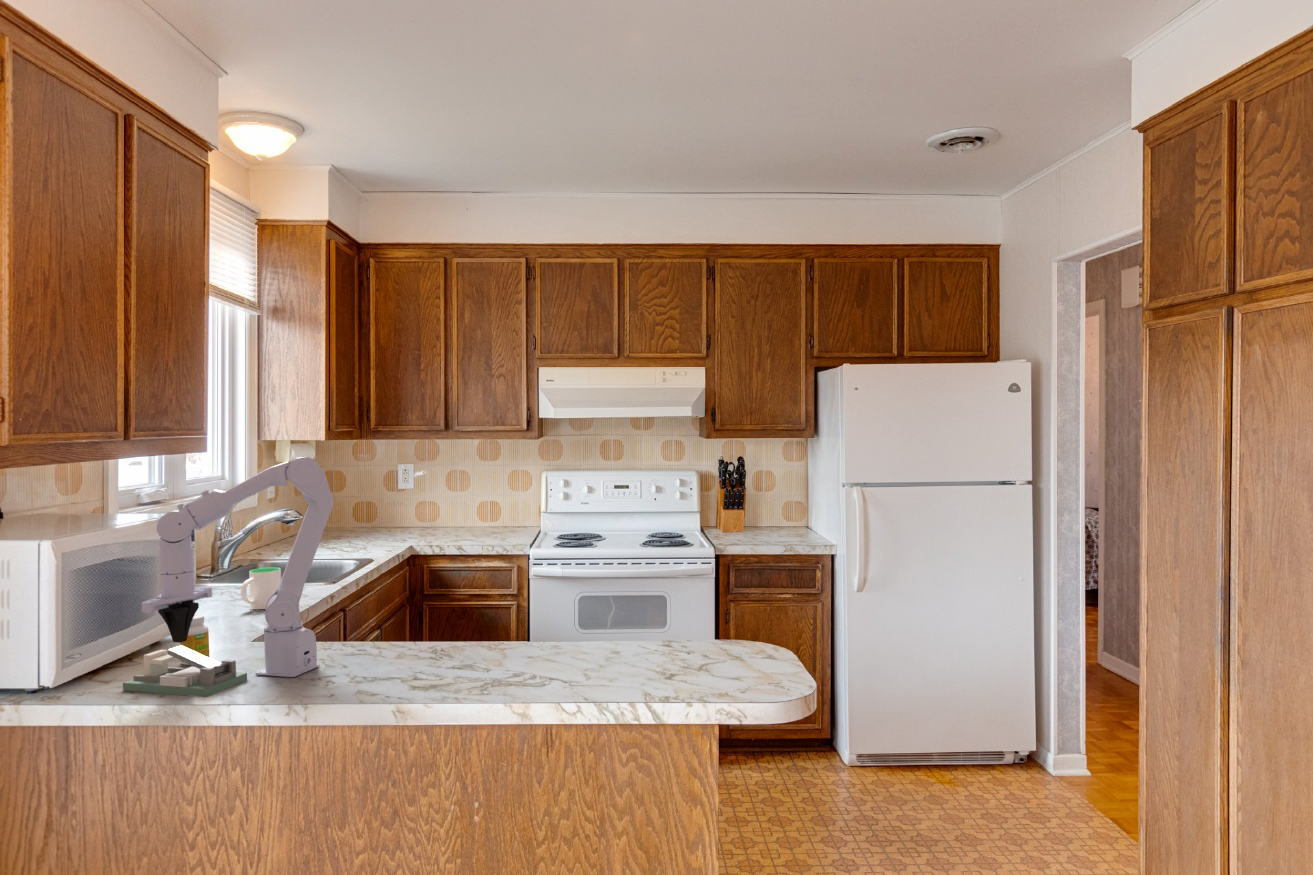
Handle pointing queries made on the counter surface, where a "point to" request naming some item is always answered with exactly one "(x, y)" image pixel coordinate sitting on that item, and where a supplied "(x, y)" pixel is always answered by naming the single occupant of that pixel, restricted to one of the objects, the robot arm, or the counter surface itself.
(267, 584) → the mug
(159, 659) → the clip
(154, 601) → the robot arm
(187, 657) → the strap
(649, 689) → the counter surface
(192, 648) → the supplement bottle
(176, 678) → the heatsink board
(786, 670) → the counter surface
